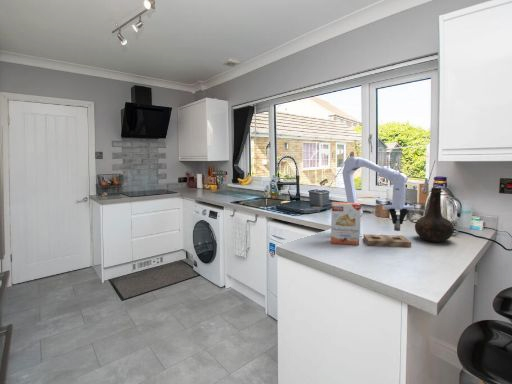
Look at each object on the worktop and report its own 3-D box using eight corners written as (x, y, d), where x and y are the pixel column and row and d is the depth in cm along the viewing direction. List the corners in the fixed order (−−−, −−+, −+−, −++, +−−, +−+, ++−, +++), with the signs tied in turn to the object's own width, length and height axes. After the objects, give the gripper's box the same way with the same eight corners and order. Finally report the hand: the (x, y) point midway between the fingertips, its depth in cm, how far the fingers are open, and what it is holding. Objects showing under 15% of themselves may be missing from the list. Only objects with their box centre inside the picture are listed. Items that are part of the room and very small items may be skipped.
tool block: (368, 245, 145) (368, 240, 145) (363, 238, 157) (363, 234, 156) (411, 247, 142) (411, 242, 142) (402, 240, 154) (403, 235, 153)
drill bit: (394, 230, 146) (395, 215, 145) (393, 229, 149) (394, 214, 148) (400, 230, 146) (401, 215, 145) (399, 229, 149) (399, 214, 148)
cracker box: (330, 243, 148) (331, 203, 146) (330, 240, 154) (331, 201, 152) (359, 245, 145) (361, 204, 143) (358, 242, 151) (359, 202, 148)
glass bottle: (433, 246, 143) (437, 190, 140) (406, 236, 160) (409, 186, 157) (461, 243, 148) (466, 188, 144) (432, 234, 165) (435, 185, 162)
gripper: (385, 198, 143) (384, 225, 145) (417, 198, 141) (415, 225, 142) (381, 196, 150) (380, 221, 151) (411, 196, 147) (410, 222, 149)
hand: (397, 223), depth 147 cm, fingers closed on drill bit, 3 cm apart
